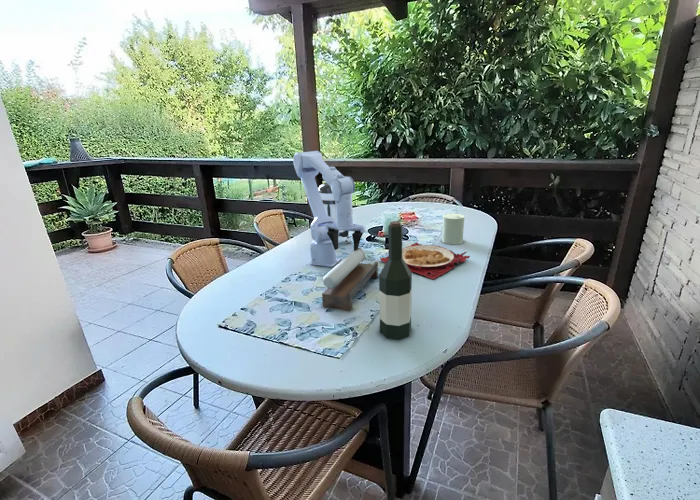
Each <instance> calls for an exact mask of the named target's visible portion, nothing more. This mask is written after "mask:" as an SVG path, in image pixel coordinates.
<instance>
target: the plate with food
mask: <svg viewBox="0 0 700 500" xmlns="http://www.w3.org/2000/svg"><path fill="white" fill-rule="evenodd" d="M467 253H468V251H464V252H461V253H455V252H454V251H452V250H450V249H448V248H446V247H443V246H440V245H433V244H432V245H431V244H429V245H428V244H420V243H418V242H414V243H411V244H410V245H409V246H406V247H403V248H402V258H403V260H404V261H405V263H406V264H407V266H408V267H409V269H410V271H411V272H412V273H416V274H418V275H420V276H425V277H426V278H428V279H431V280H435V279H437V278H439V277H440V276H443V275H445V274H446V273H447V272H450V271H451V270H453V269H454V268H455V264H459V263H460V264H462V263H464V262H466V260H467V259H470V257H471V256H470V255H466V254H467ZM388 259H389V255H388V256H385V257H382V258H381V257H380V258H379V260H380V261H381V262H383V263H384V264H386V262H387V261H388ZM429 273H430V274H429Z"/></svg>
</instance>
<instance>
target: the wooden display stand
mask: <svg viewBox="0 0 700 500" xmlns="http://www.w3.org/2000/svg"><path fill="white" fill-rule="evenodd" d="M378 263H379V262H378V261H374V263H373V264H371V263H363V262H360V263H359V264H358V265H357V266H356V267H355V268H354V269H353V270H352V271H351V272H350V273H349V274H348V275H347V276H346V277H345V278H344V279H343V280H342V281H341V282H340V283H339V284H338V285H337V286H336V287H335V288H327V287H326V289H325V290H324V291H323V292H322V293H321V294H322V295H321V296H322V307H323V308H329V309H335V310H340V311H346V312H351V311H352V310H353V298H354V297H355V296H356V295H357V294H358V293H359V291H360V290H361V289H362V288H363V286H365V284H366V283H367V282H368V280H369V279H370V278H371V279H378V278H379V264H378Z"/></svg>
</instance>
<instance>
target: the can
mask: <svg viewBox="0 0 700 500" xmlns="http://www.w3.org/2000/svg"><path fill="white" fill-rule="evenodd" d="M465 217H466V216H465V215H464V214H461V213H455V212H454V213H453V212H452V213H445V214H443V215H442V233H441V234H442V235H441V241H442V243H443V244H446V245H461V244H463V243H464V228H465V227H464V226H465Z"/></svg>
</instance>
